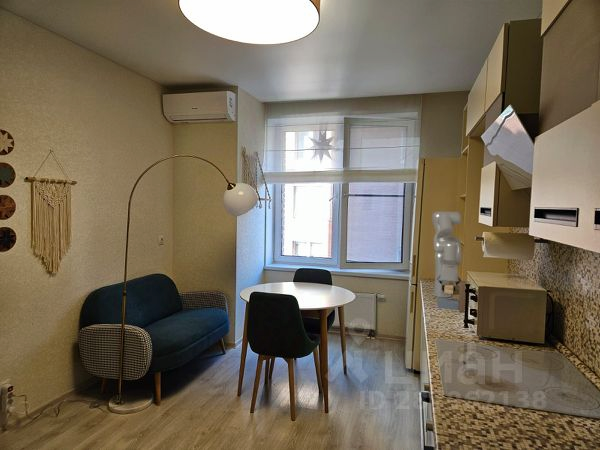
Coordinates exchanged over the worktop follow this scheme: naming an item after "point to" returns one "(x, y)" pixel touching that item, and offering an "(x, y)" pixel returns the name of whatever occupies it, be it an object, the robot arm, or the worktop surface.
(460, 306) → the wooden block
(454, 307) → the slate base block
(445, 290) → the oak cube
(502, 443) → the worktop surface
